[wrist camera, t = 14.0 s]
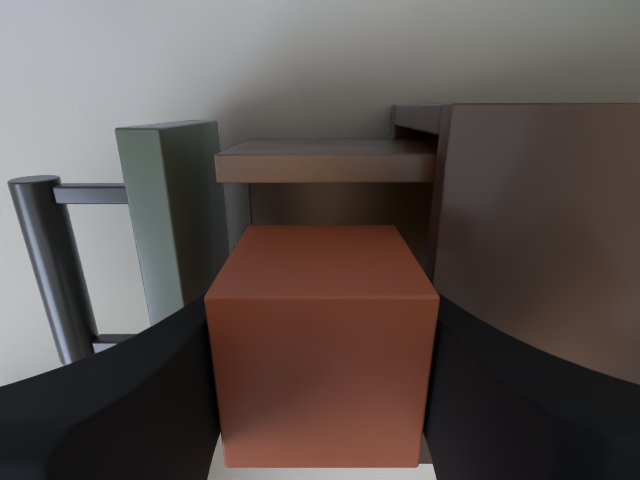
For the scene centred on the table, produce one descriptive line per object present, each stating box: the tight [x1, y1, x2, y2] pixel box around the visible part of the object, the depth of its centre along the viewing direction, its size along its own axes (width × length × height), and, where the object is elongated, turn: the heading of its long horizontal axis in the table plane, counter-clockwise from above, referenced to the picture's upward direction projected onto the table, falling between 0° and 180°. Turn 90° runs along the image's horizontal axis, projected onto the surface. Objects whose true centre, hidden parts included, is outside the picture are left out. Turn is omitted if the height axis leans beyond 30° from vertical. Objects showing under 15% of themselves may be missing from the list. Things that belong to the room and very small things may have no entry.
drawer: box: [7, 120, 439, 365], centre depth 14 cm, size 17×10×6 cm, turn 90°
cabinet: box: [390, 103, 640, 464], centre depth 14 cm, size 14×12×8 cm
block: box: [204, 225, 440, 468], centre depth 10 cm, size 5×5×5 cm
